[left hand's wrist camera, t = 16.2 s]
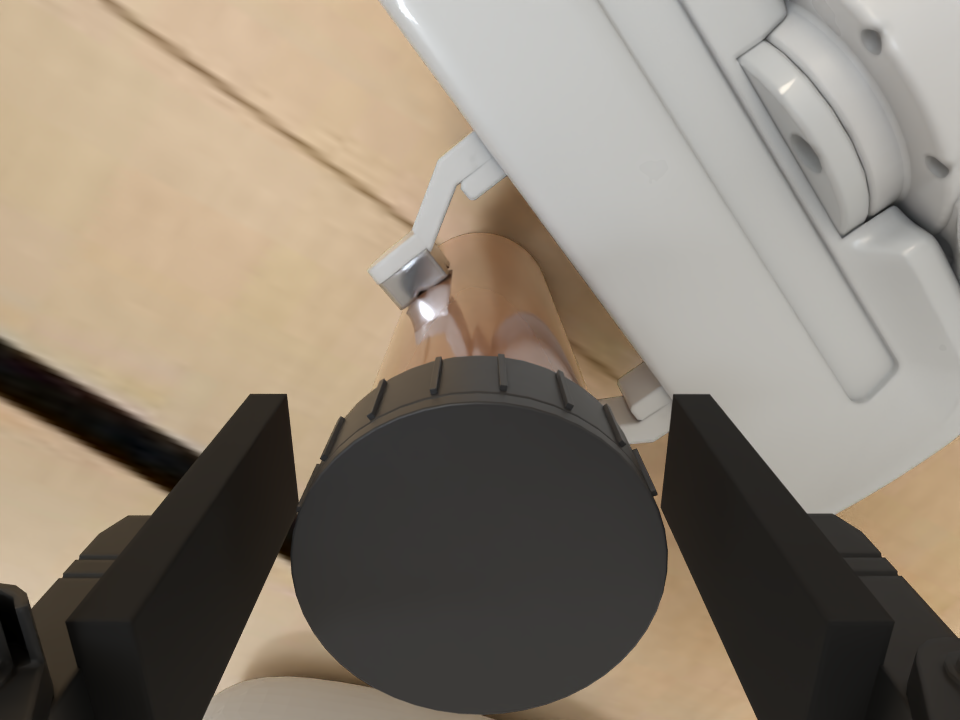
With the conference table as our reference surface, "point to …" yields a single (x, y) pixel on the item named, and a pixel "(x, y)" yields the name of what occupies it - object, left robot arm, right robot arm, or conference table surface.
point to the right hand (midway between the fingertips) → (456, 371)
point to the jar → (483, 312)
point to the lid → (479, 538)
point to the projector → (315, 702)
